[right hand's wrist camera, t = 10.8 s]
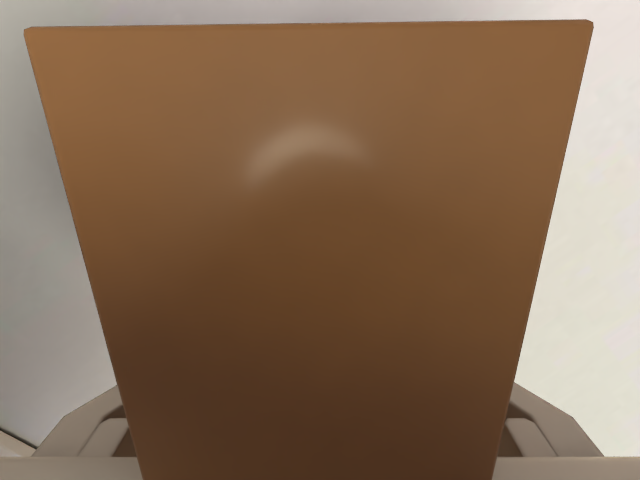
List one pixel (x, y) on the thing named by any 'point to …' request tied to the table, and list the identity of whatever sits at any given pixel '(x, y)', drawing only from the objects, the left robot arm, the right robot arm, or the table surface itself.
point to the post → (313, 233)
